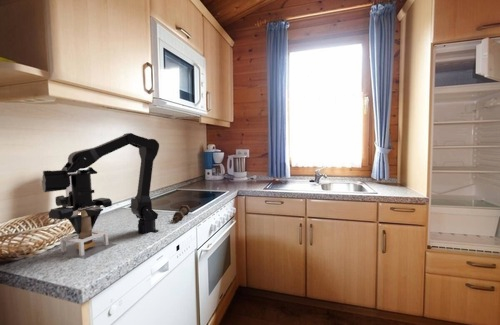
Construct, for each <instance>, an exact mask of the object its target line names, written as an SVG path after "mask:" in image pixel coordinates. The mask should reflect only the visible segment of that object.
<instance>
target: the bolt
mask: <svg viewBox="0 0 500 325" xmlns="http://www.w3.org/2000/svg"><path fill="white" fill-rule="evenodd" d="M190 211H191V208H190V207H189V206H188V205H187V204H182V205H180V208H179V210H177V211H175V212H174V214H173V216H172V221H173V222H174V223H177V222H179V220H181V221H183V218H184V216H186V215H185V214H188V215H189V214H190Z"/></svg>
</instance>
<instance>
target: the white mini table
mask: <svg viewBox="0 0 500 325" xmlns="http://www.w3.org/2000/svg"><path fill="white" fill-rule="evenodd" d="M102 236H103V241H100V240H95V239H96V238H99V237H102ZM76 237H78V234H77V233H73V234H70V235H67V236H64V237H61V238H60V239H59V242H60V248H58V249H57V250H56V249H55V250H53V251H52V253H55V254H61V255H64V256H70V257H74V258H78V259H79V258H80V259H84V260H86V259H88V258H91V257H92V256H95V255H97V254H98V253H101V252H103V251H105V250H108V249H110V248H112V247H114V246H117V245H118V243H117V244H116V243H111V242H109V232H108V231H103V230H98V229H92V236H90V237H87V238H85V239H78V238H76ZM91 239H92V241H95V245H94V246H92V247H90V248H87V249H85V250H84V242H86V241H89V240H91ZM67 242H71V243H72V244H70V245H67V246H66V243H67ZM77 243H79V249H77V248H76V244H77Z"/></svg>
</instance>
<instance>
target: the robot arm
mask: <svg viewBox="0 0 500 325" xmlns="http://www.w3.org/2000/svg"><path fill="white" fill-rule="evenodd" d="M128 145H130V146H132V147H134V148H137V149H138V155H139V157H140V168H139V175H138V183H137V184H138V186H137V191H136V192H137V193H136V196H135V197H131V198H130V205H129V208H130V210H131V213H132V214H133V215H135V217H136V218H137V219H138V221H137V222H138V224H137V234H141V235H146V234H150V233H152V234H156V233H158V232H159V229H156V220H157V219H158V217H159V214H158V213H157V212H156V211H154V210H153V204H152V199H151V195H150V192H151V183H152V177H153V176H152V175H153V168H154V167H153V166H154V161H155V159H156V157H157V156H158V153H159V150H160V143H159V142H158V140H156V139H154V138H146V137H144V136H140V135H137V134H134V133H131V132H127V133H124V134H122V135H120V136H118V137H116V138H114V139H110V140H109V141H107V142H104V143H102V144H99V145H97V146H94V147H90V148H86V149H85V148H84V149H81V150H77V151H73V152H71V153H70V154H69V155H68V158H67V162H66V164H64V165H63V167H62V168H61V169H59V170H56V169H55V170H43V171H42V179H41V187H42V191H43V192H44V193H50V192H57V191H66V190H67V188H70V187H71V190H70V191H69V192H68V196H65V195H63V194H62V195H59V196H56V197H55V205H56V206H57V207H55V208H51V209H50V210H49V212H48V219H53V220H60V221H61V220H65V219H67V220H68V221H69V222H70V224H71V226H72V228H73V229H74V231H75V232H76V233H77V234H80V232H81V218H82V215H78V211H82V210H85V211H86V213H87V214H88V216H91V227H92V230H94V229H93V228H94V226H95V224H96V222H97V220H98V217H99V216H100V214H101V212H102V211H104V208H108V207H112V206H113V203H112V202H113V201H112V199H110V198H107V197H98V198H95V199H93V194H94V193H95V189H93V188H92V177H91V175H95V174H98V171H97V170H95V169H94V168H93V167H91V166H92V165H93V164H95V163H96V162H97V161H98V160H99V159H101V158H103V157H104V156H106V155H110V154H111V153H113V152H115V151H118V150H120V149H121V148H124V147H126V146H128ZM87 206H88V207H87ZM101 206H102V207H104V208H101ZM78 208H79V209H78Z"/></svg>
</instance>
